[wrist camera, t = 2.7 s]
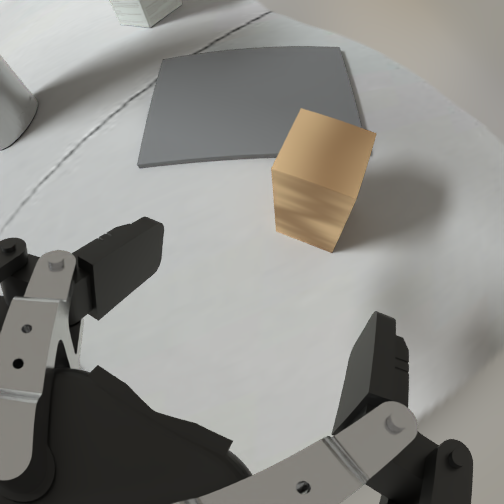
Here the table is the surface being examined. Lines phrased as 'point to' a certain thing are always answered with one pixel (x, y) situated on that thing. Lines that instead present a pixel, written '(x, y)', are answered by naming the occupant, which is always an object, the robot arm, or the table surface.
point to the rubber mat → (241, 102)
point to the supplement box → (143, 11)
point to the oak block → (319, 177)
